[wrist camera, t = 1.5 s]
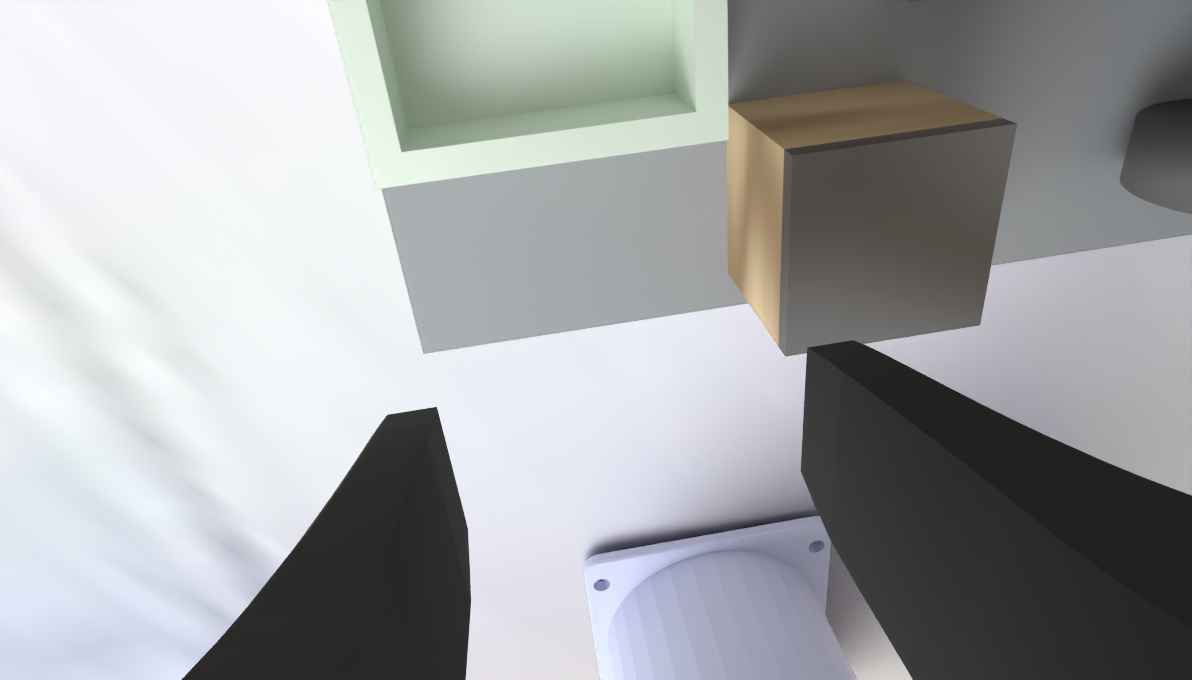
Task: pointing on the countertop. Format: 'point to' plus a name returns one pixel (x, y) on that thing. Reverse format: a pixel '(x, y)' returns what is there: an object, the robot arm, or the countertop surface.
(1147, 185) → the trolley
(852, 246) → the wooden cube
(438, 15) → the tray
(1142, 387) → the countertop surface
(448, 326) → the ramp board
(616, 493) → the countertop surface
